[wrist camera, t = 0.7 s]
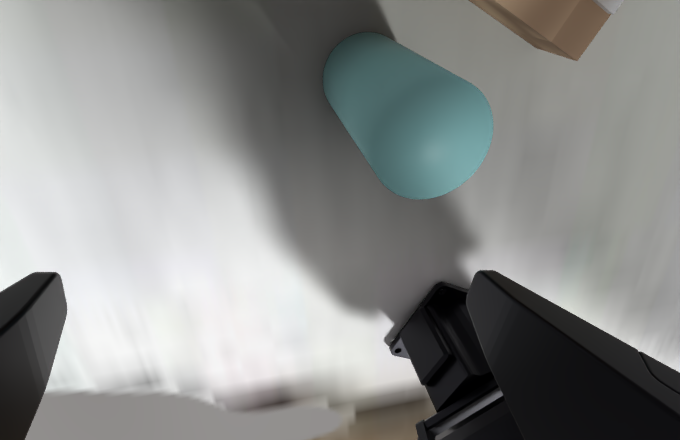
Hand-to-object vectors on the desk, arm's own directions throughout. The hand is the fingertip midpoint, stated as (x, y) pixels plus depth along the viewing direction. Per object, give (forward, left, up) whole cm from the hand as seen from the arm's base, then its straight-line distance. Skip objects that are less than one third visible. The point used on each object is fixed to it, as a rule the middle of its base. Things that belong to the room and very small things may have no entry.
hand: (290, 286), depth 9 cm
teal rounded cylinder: (-4, -4, -12) cm, 13 cm away
